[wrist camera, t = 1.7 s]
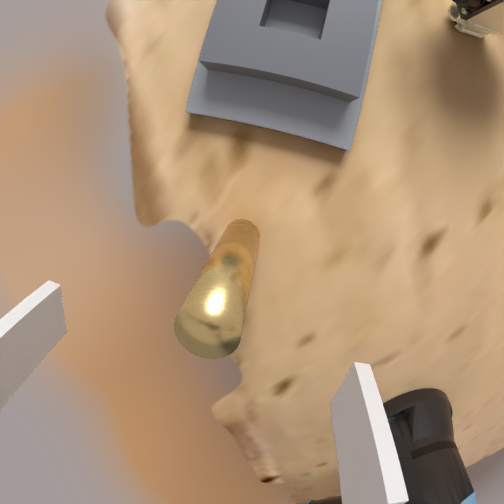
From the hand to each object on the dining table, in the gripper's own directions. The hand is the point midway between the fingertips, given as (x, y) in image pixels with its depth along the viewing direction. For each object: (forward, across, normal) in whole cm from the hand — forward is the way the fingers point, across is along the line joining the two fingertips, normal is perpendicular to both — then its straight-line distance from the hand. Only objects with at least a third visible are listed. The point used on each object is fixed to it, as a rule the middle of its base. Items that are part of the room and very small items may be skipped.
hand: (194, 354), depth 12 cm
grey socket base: (+17, 0, -20) cm, 26 cm away
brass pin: (+17, 0, 0) cm, 17 cm away
